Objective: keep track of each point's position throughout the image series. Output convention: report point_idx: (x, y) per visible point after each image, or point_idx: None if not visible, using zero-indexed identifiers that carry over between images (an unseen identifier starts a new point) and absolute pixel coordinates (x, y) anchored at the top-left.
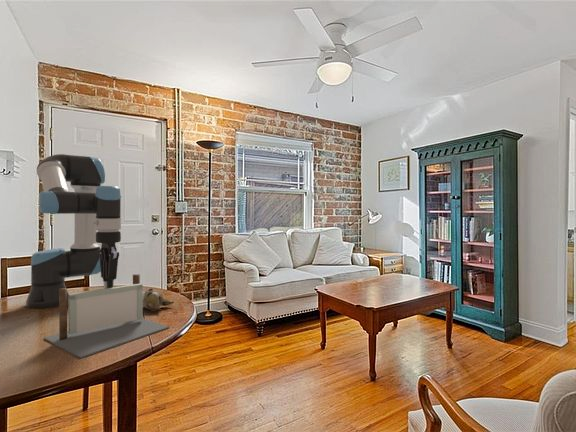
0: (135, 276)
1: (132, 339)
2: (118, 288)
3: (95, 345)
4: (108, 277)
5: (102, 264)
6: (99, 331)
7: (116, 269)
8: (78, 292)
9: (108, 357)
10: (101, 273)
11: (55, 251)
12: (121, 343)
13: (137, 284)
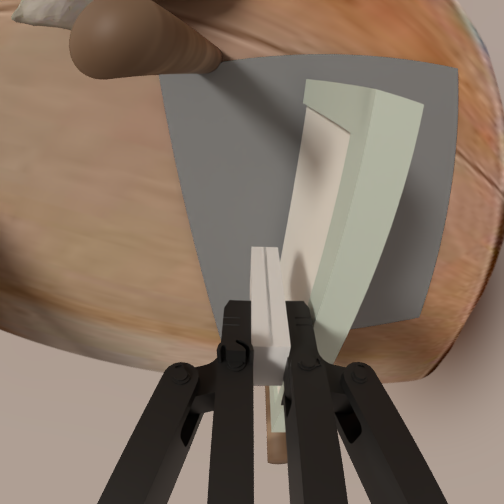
0: (154, 54)
1: (447, 206)
2: (362, 293)
3: (397, 284)
4: (353, 413)
5: (166, 495)
6: None
7: (411, 442)
8: (279, 418)
9: (462, 278)
10: (183, 425)
11: None
12: (441, 236)
13: (395, 140)
